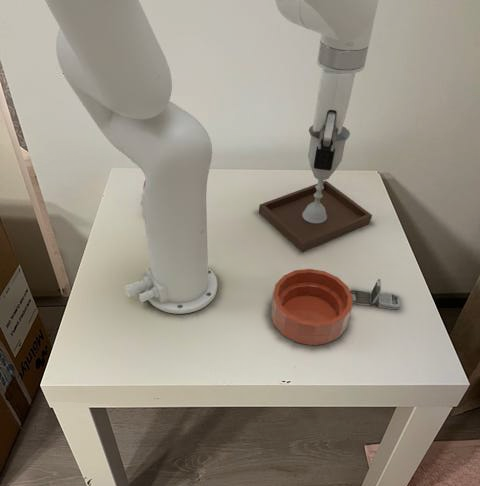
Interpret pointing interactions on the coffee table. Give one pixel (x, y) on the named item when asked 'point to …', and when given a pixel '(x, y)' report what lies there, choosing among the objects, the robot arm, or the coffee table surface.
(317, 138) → the chalice
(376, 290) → the strap clip
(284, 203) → the tray
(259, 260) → the coffee table surface
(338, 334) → the bowl
